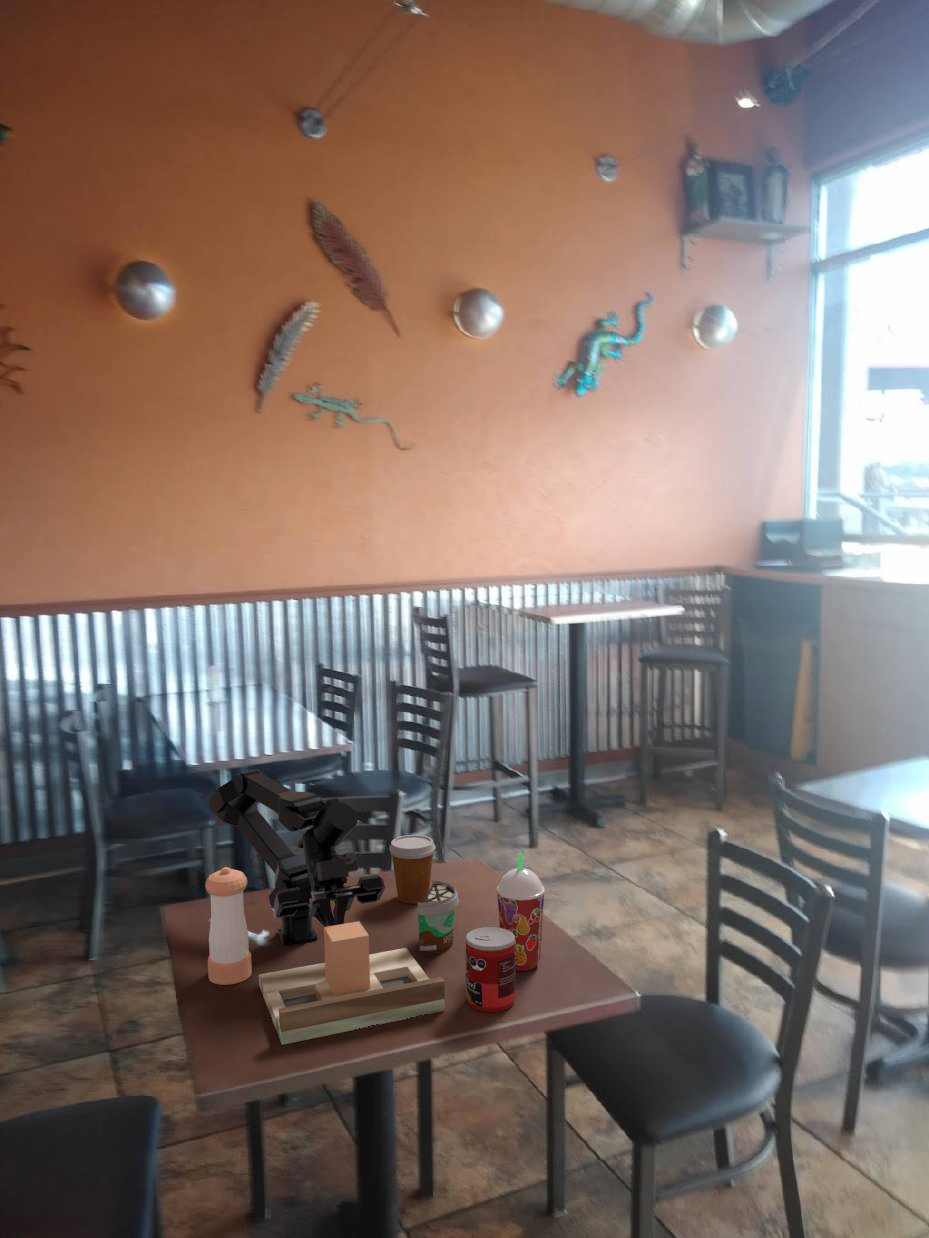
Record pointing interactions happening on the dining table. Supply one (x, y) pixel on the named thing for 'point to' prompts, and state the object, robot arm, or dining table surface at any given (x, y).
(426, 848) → the disposable coffee cup
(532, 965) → the smoothie
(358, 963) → the block
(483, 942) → the canned food
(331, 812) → the robot arm
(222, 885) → the salt shaker
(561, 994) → the dining table surface
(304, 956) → the dining table surface
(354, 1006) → the board
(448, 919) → the food container
